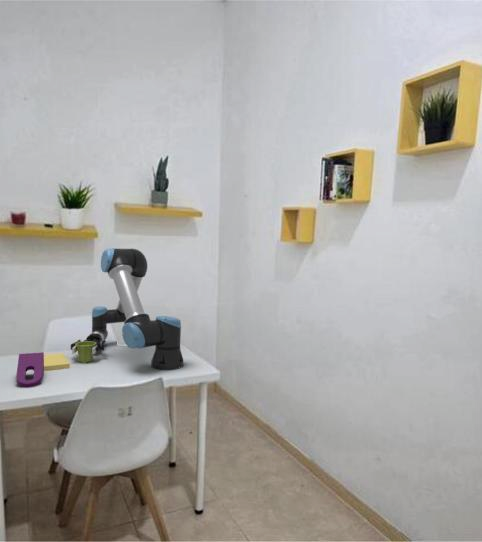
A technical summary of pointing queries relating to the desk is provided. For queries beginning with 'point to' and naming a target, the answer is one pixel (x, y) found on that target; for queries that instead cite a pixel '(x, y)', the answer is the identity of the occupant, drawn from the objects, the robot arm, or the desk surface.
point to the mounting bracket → (30, 368)
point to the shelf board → (55, 361)
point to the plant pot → (85, 351)
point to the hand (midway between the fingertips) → (83, 351)
